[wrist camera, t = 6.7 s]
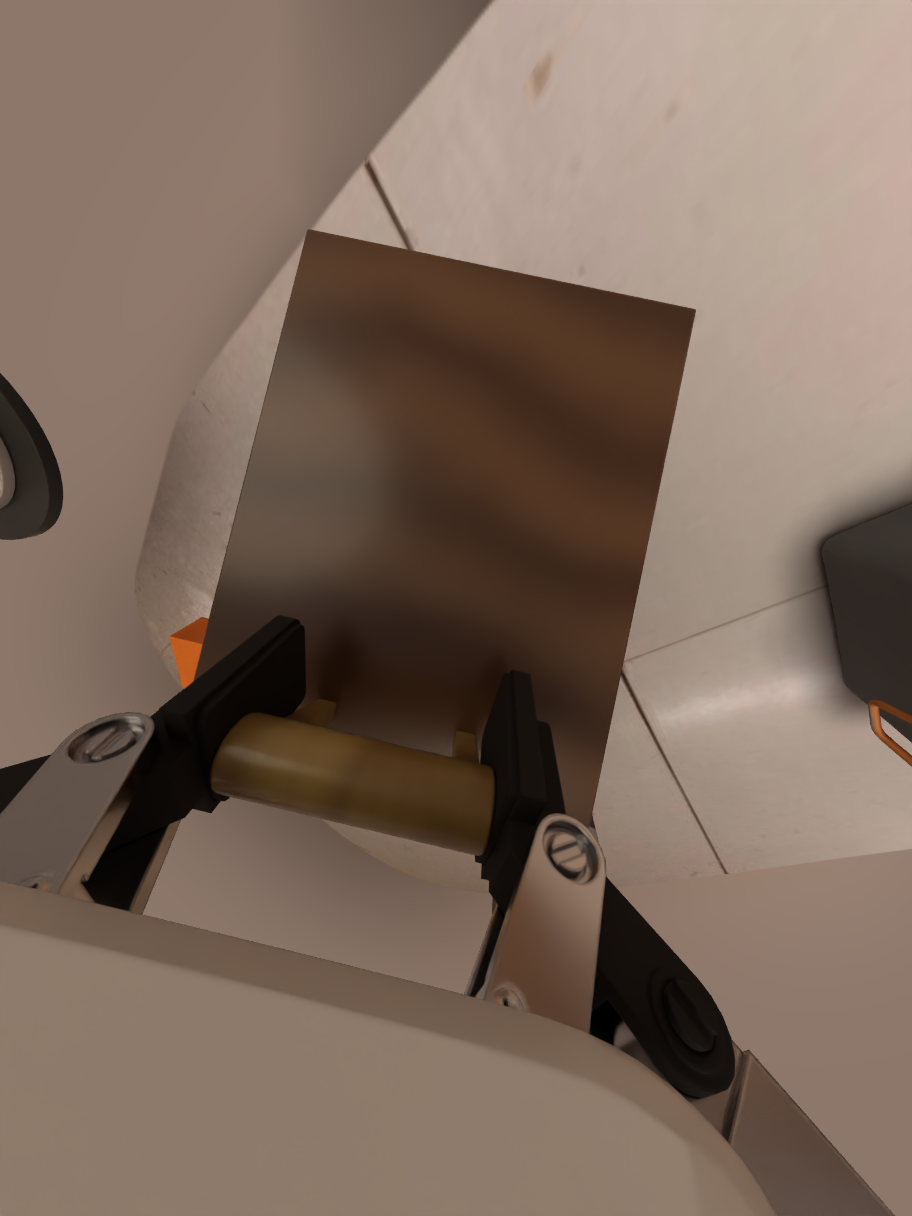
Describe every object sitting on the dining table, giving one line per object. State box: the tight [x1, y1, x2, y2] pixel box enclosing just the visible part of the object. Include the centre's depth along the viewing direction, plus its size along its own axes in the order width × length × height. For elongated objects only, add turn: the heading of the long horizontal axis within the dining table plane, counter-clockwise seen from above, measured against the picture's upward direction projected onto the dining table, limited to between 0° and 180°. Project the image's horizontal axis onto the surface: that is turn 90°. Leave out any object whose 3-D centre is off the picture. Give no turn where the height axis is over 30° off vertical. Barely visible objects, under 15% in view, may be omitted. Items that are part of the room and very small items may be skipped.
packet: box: [170, 618, 209, 689], centre depth 36 cm, size 5×8×4 cm, turn 169°
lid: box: [193, 229, 696, 856], centre depth 10 cm, size 20×15×6 cm
